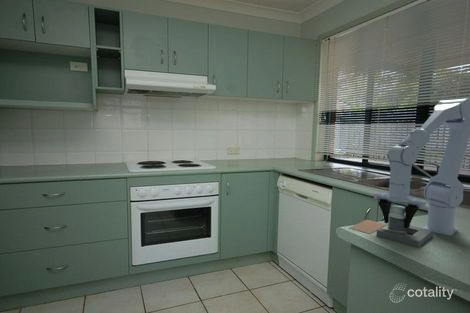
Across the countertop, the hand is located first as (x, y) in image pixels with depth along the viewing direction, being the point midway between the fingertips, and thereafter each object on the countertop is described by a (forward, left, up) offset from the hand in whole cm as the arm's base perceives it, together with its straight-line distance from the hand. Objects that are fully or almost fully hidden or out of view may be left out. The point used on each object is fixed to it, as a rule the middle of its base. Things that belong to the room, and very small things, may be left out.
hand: (396, 225), depth 93 cm
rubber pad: (0, -9, -3) cm, 9 cm away
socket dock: (0, +1, -3) cm, 3 cm away
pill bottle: (0, 0, -3) cm, 3 cm away
